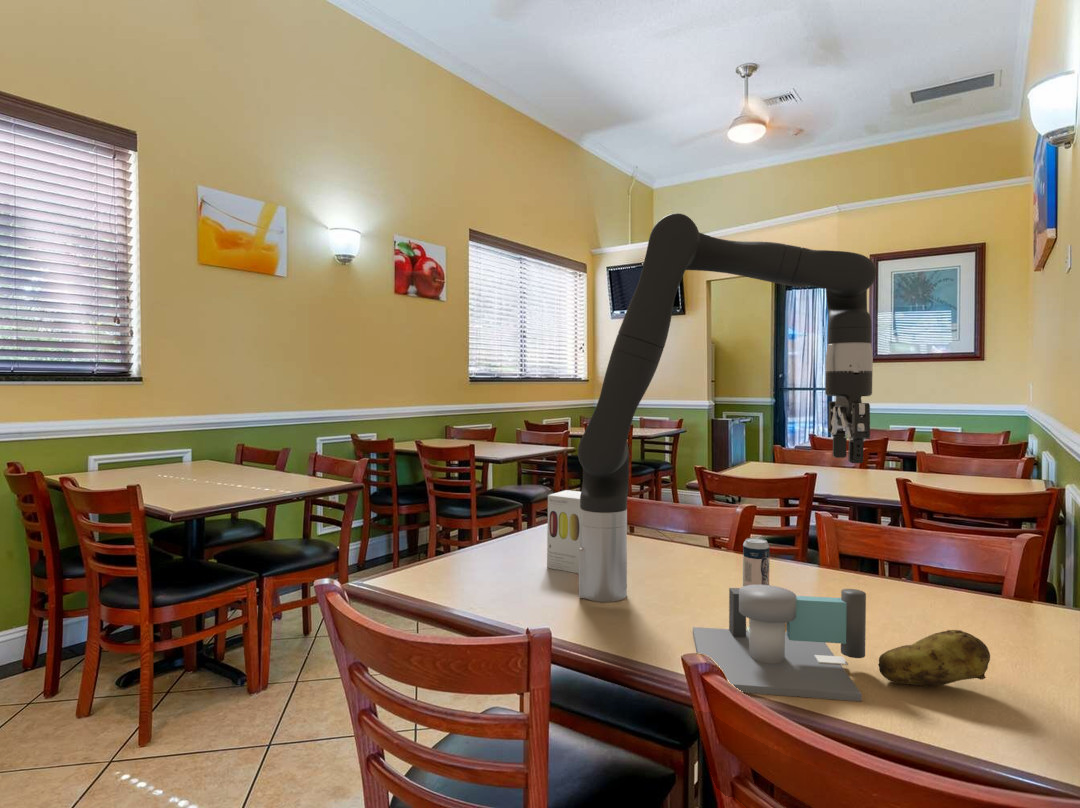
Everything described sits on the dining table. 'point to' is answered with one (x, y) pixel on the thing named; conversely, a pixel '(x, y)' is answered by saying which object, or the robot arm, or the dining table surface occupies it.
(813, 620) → the lever
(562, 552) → the supplement box
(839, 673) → the post base
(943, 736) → the dining table surface
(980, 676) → the potato
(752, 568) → the beer can
